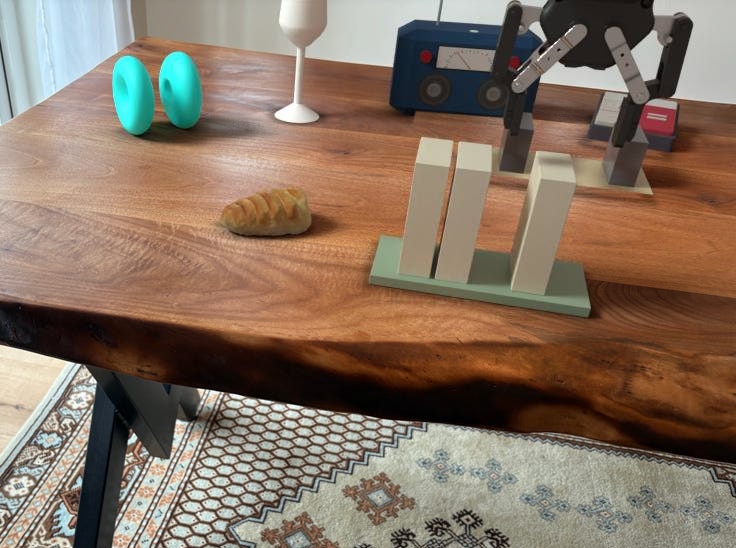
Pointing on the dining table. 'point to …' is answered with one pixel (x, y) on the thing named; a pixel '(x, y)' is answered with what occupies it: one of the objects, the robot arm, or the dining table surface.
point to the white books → (463, 239)
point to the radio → (454, 68)
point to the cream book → (541, 221)
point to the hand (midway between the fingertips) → (564, 139)
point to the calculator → (654, 121)
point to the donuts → (175, 92)
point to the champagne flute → (301, 48)
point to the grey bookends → (577, 161)
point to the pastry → (268, 213)
